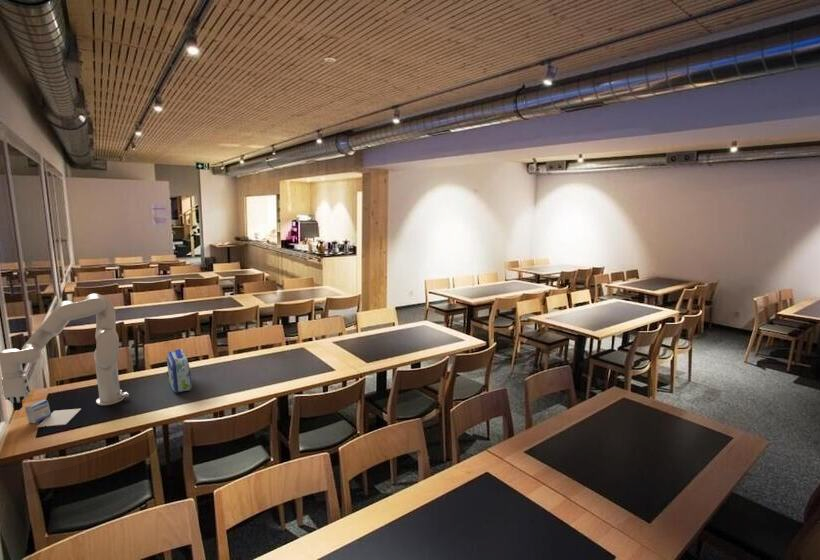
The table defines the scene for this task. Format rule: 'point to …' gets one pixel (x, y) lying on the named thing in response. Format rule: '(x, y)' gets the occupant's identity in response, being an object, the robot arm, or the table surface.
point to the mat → (59, 417)
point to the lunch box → (178, 371)
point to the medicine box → (38, 411)
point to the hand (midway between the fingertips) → (18, 409)
